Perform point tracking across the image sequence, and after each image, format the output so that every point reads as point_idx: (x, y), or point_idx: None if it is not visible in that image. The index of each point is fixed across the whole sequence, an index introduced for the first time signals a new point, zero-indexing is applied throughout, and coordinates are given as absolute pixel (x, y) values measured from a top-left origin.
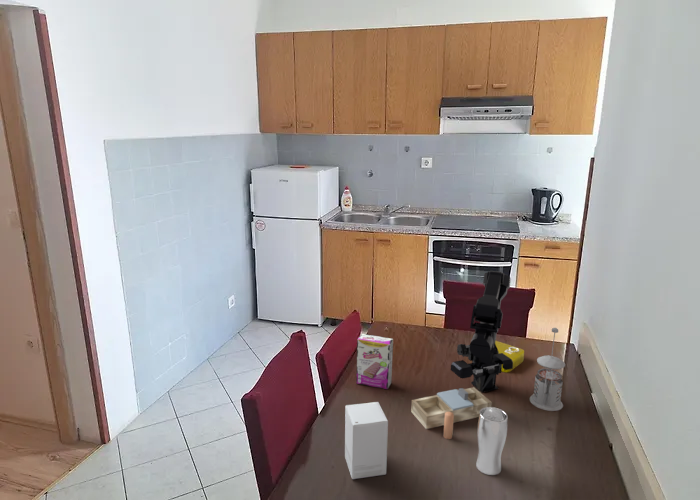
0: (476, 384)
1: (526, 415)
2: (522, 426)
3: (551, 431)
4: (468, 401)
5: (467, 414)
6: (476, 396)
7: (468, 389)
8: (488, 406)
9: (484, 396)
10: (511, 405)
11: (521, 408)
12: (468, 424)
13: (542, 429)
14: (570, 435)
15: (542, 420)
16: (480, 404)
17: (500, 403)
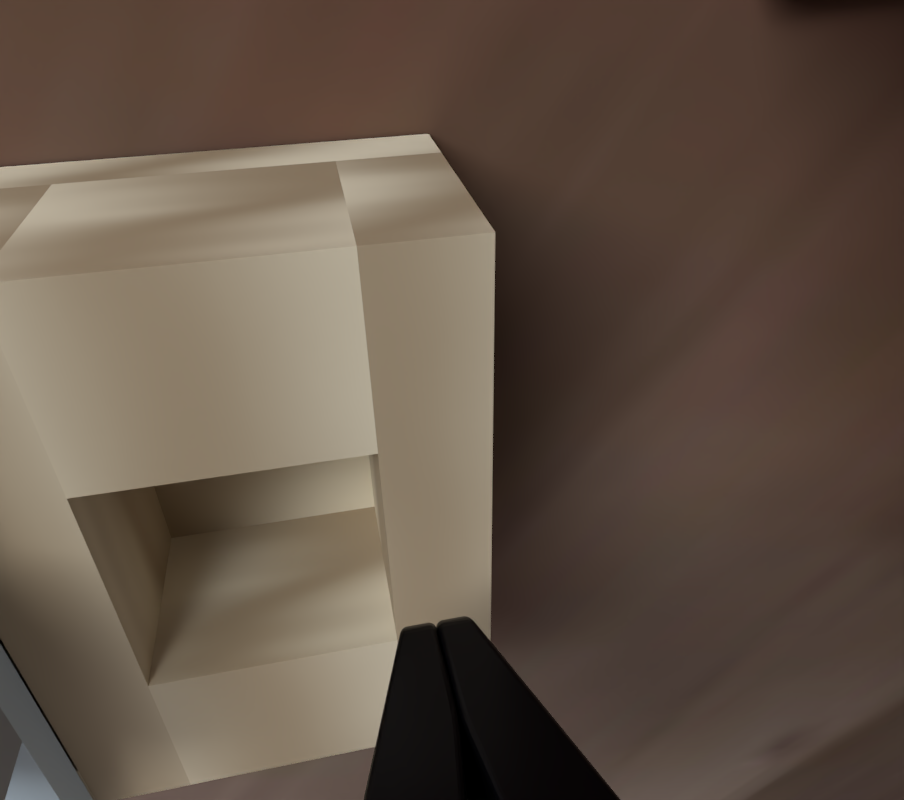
0: (368, 782)
1: (799, 603)
2: (614, 723)
3: (769, 765)
4: (10, 796)
5: None
6: (374, 457)
7: (268, 308)
8: None
9: (481, 595)
10: (836, 435)
11: (875, 501)
12: None
13: (732, 750)
14: (839, 791)
15: (849, 667)
16: (258, 768)
17: (753, 371)
